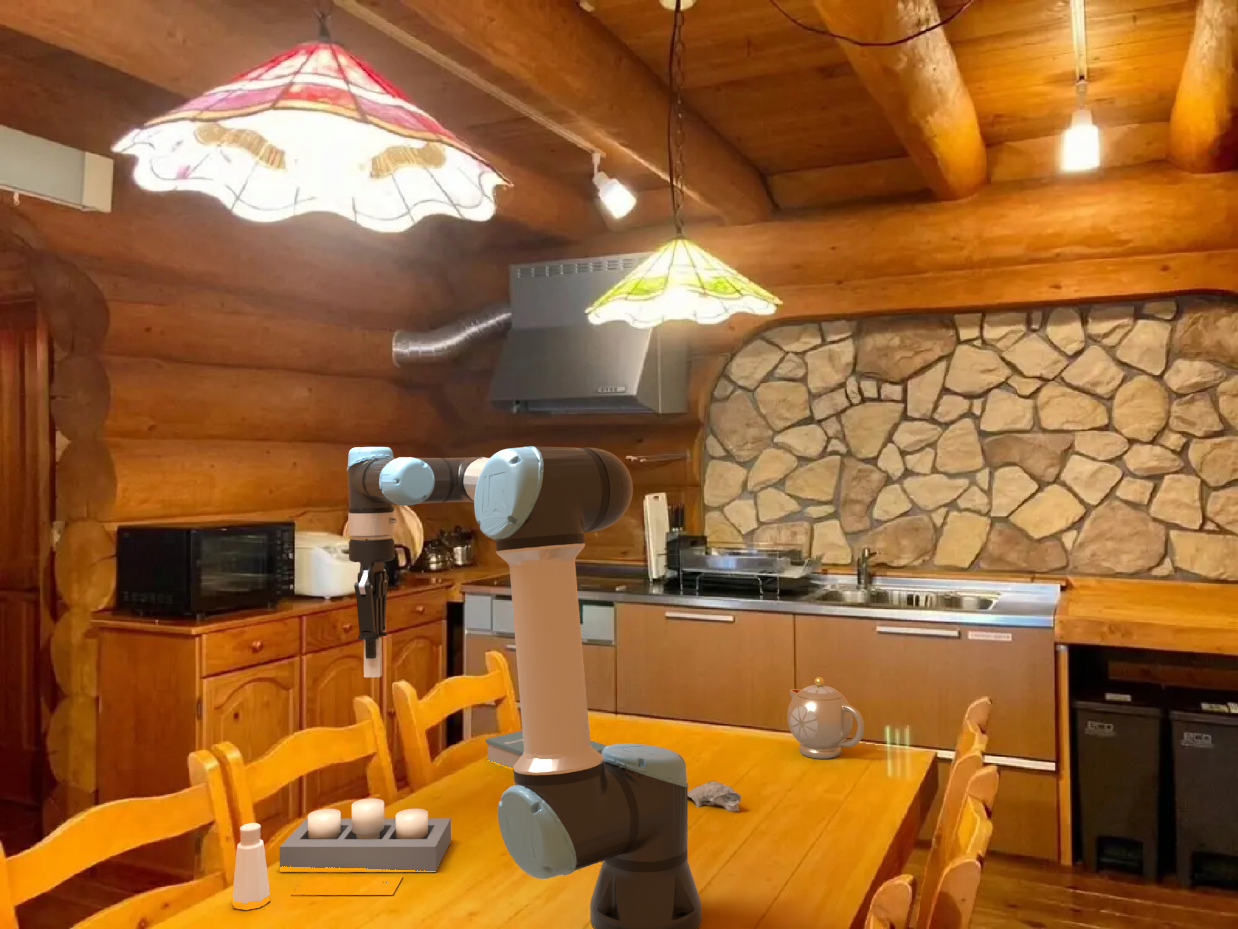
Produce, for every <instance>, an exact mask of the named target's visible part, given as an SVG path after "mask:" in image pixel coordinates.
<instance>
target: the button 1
mask: <svg viewBox="0 0 1238 929" xmlns="http://www.w3.org/2000/svg"><path fill="white" fill-rule="evenodd" d="M341 815H342V814H341V811H340V810H339V809H337V808H322V809H317V810H314V811H311V812H310V813H308V815H307V819H308V839H338V838H339V837H340V835H341V819H342V818H341Z"/></svg>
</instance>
